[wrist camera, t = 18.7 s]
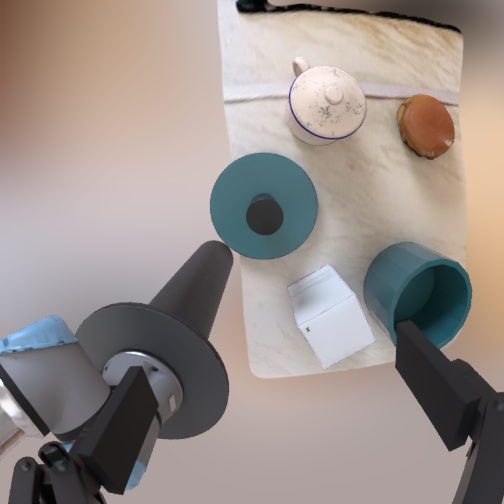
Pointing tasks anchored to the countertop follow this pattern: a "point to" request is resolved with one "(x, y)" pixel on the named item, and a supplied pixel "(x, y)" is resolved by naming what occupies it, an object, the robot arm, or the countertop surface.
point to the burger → (425, 126)
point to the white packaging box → (329, 316)
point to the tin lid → (263, 206)
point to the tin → (418, 292)
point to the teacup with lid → (324, 104)
